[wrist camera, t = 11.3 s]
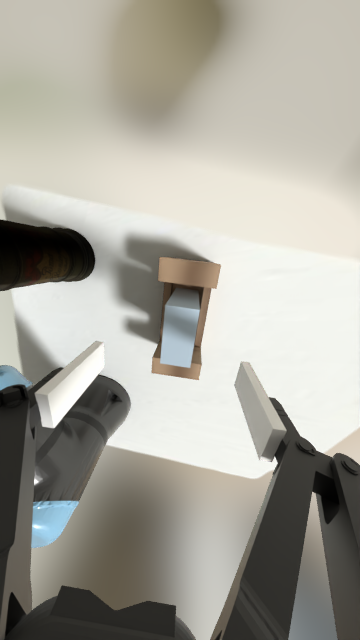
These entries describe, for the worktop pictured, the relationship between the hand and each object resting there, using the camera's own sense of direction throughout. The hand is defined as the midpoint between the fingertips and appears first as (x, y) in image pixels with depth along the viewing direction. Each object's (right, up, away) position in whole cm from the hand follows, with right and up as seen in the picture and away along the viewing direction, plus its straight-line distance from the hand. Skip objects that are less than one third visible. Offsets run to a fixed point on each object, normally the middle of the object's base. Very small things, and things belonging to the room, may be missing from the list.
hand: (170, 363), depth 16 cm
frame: (+2, +6, +17) cm, 18 cm away
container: (-19, +16, +15) cm, 29 cm away
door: (+2, +6, +16) cm, 17 cm away
